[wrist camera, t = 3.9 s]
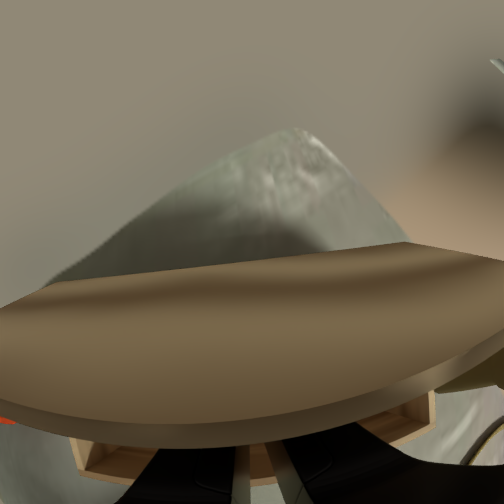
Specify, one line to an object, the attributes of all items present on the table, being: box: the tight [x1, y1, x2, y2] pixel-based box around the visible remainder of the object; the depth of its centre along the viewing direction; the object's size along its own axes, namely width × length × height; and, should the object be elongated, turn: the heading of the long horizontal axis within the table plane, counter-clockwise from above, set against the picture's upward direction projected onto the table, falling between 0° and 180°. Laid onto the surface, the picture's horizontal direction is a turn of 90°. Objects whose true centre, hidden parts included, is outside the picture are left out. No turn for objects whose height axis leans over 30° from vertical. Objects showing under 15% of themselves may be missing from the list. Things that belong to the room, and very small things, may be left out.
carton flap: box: [0, 242, 504, 449], centre depth 8 cm, size 11×21×1 cm
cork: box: [434, 347, 504, 394], centre depth 15 cm, size 6×6×11 cm
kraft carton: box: [69, 390, 436, 487], centre depth 16 cm, size 12×22×8 cm, turn 98°
